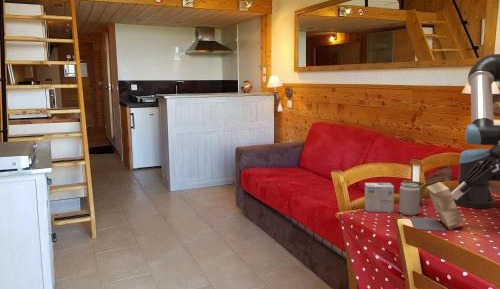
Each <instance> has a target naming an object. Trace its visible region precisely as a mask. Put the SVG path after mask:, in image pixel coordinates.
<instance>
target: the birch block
mask: <svg viewBox="0 0 500 289" xmlns="http://www.w3.org/2000/svg"><path fill="white" fill-rule="evenodd" d="M426 190H427V193H428V195H429V196H430V199H431V201H432V204H433V205H434V206H433V207H434V208H435V211H436V213H437V216H438V217H439V218H438V219H439V221H440V223H442V224H443V225H444V226H445V227H446V229H448V230H449V231H451V230H453V229H456V228H459V227H462V226H464V224H465V223H464V221H463V219H462V216H461V215H460V212H459V210H458V207H457V204H455V202H454V199H453V197H452V195H451V192H452V191H451V190H450V188H449V187H447V186H446V185H445V184H444V183H442V182H441V181H438V182H436V183H433V184H431V185H428V186H427V185H426Z"/></svg>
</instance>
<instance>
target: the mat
mask: <svg viewBox="0 0 500 289" xmlns="http://www.w3.org/2000/svg"><path fill="white" fill-rule="evenodd" d="M407 218H408V219H410V220H411V221H412V223H413V226H414V227H415V228H418V229H421V230H420V231H434V232H437V231H438V232H447V228H445V227H444V226H443V225H442V224H441V222H439V221H438V220H437V218H433V217H429V218H427V217H426V218H425V217H407Z"/></svg>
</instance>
